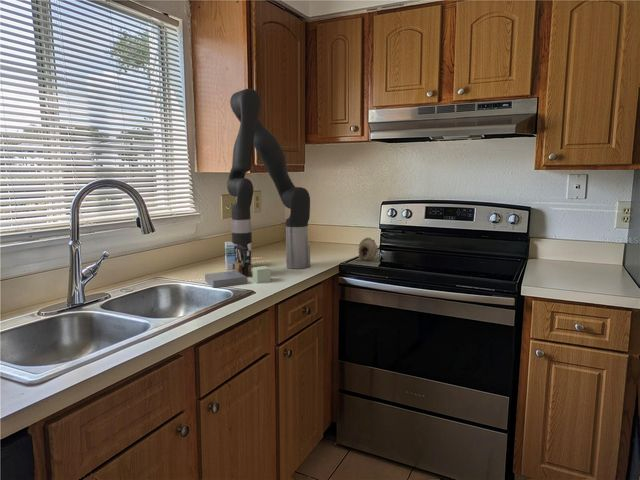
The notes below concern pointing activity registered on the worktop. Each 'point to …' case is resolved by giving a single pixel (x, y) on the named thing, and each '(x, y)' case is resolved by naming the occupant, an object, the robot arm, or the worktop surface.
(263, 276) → the green block
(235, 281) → the slate base
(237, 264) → the walnut block
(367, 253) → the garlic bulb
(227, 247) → the light bulb box
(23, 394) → the worktop surface
